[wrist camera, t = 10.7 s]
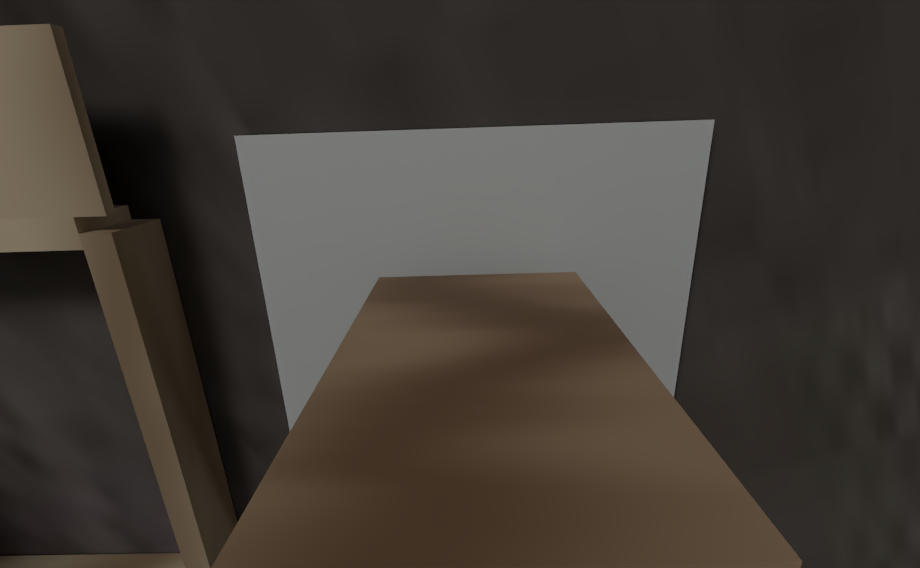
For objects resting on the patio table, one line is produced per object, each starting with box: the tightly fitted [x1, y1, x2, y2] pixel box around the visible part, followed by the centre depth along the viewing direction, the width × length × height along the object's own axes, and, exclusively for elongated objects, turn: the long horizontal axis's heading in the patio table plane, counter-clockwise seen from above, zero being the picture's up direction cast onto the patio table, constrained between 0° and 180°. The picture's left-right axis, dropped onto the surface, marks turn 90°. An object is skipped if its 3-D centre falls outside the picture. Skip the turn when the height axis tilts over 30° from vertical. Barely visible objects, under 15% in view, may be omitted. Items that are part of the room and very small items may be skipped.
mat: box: [234, 120, 714, 431], centre depth 14 cm, size 12×15×1 cm
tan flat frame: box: [0, 24, 237, 568], centre depth 14 cm, size 11×22×2 cm, turn 2°
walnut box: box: [211, 272, 802, 568], centre depth 9 cm, size 5×8×8 cm, turn 2°
